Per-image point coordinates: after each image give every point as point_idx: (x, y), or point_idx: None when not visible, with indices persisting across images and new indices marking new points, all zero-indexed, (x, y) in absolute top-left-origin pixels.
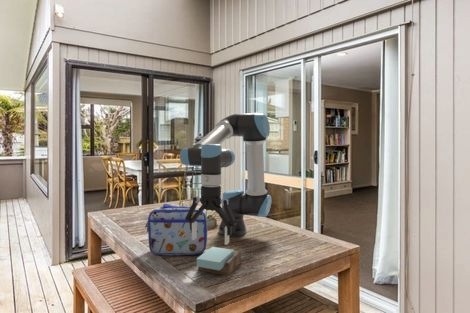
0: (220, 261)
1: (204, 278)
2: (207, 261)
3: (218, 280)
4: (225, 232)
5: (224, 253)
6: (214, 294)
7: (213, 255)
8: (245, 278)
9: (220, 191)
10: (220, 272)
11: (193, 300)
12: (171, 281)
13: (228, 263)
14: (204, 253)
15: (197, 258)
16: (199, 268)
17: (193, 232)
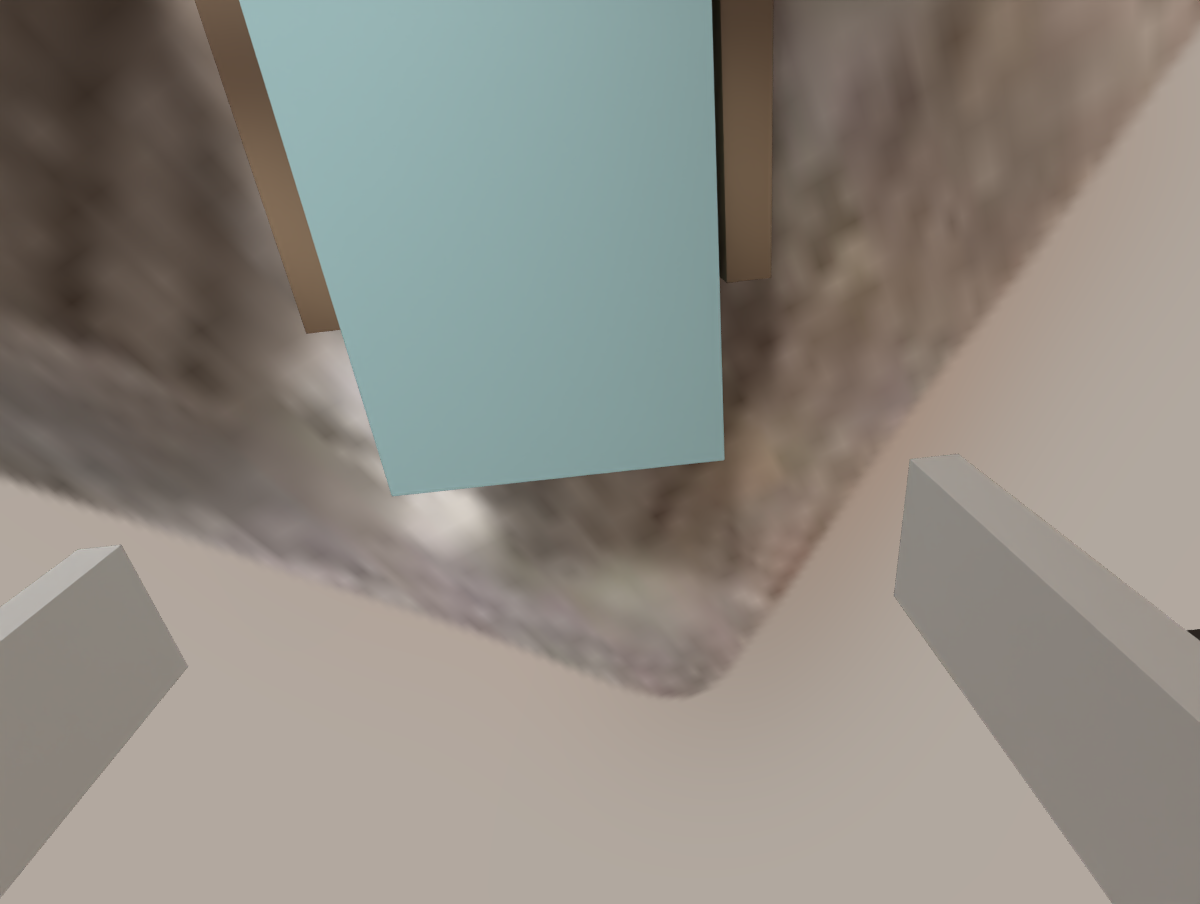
0: (718, 428)
1: None
2: (550, 474)
3: None
4: (1113, 864)
5: (628, 109)
6: (760, 592)
7: (515, 290)
8: (927, 219)
9: None
10: None
11: (668, 697)
12: (348, 585)
13: (764, 274)
14: (344, 288)
15: (398, 487)
16: None
17: (58, 822)
